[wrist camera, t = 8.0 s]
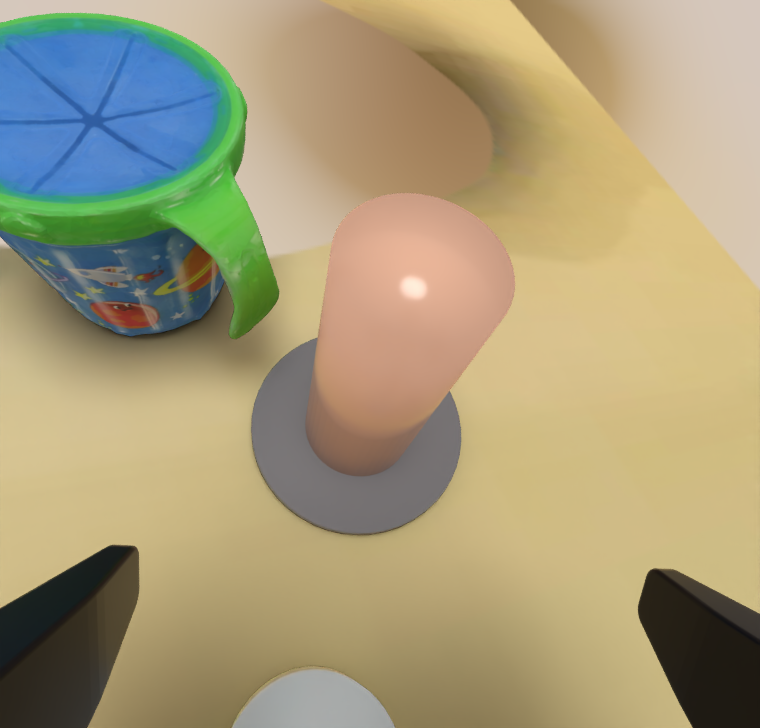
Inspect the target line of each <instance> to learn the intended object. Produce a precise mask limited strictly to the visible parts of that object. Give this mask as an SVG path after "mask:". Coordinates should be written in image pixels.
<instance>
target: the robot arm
mask: <svg viewBox="0 0 760 728" xmlns="http://www.w3.org/2000/svg"><path fill="white" fill-rule="evenodd" d="M138 595H139V552H138V549H137V548H136V547H135V546H128V545H110V546H108V547H106V548H104V549H102V550H101V551H99V552H97V553H95V554H94V555H92V556H90V557H88V558H87V559H85V560H83V561H81V562H80V563H78V564H76V565H75V566H73V567H71V568H69V569H68V570H66V571H64V572H62V573H61V574H59V575H57V576H55V577H54V578H52V579H50V580H48V581H47V582H45V583H43V584H42V585H40V586H38V587H36V588H35V589H33V590H31V591H29V592H28V593H26V594H24V595H22V596H21V597H19V598H17V599H15V600H14V601H12V602H10V603H9V604H7V605H5V606H3V607H2V608H0V728H87V727H88V725H89V723H90V721H91V719H92V717H93V715H94V713H95V710H96V708H97V706H98V704H99V702H100V699H101V697H102V694H103V692H104V689H105V687H106V684H107V682H108V679H109V676H110V674H111V671H112V668H113V666H114V663H115V660H116V657H117V655H118V652H119V649H120V647H121V644H122V641H123V639H124V636H125V633H126V631H127V628H128V625H129V623H130V620H131V617H132V615H133V612H134V609H135V607H136V604H137V600H138ZM638 615H639V619H640V621H641V624H642V626H643V628H644V630H645V632H646V634H647V636H648V639H649V641H650V643H651V645H652V647H653V649H654V651H655V653H656V655H657V658H658V660H659V662H660V664H661V666H662V668H663V670H664V672H665V674H666V677H667V679H668V681H669V683H670V685H671V687H672V689H673V691H674V693H675V695H676V697H677V699H678V701H679V703H680V705H681V707H682V709H683V711H684V713H685V715H686V716H687V718H688V720H689V722H690V724H691V725H692V727H693V728H760V614H759V613H757V612H755V611H753V610H751V609H749V608H748V607H746V606H744V605H742V604H740V603H738V602H736V601H734V600H732V599H730V598H728V597H726V596H724V595H723V594H721V593H719V592H717V591H715V590H713V589H711V588H709V587H707V586H705V585H703V584H701V583H699V582H698V581H696V580H694V579H692V578H690V577H688V576H686V575H684V574H682V573H680V572H678V571H676V570H673V569H657V568H654V569H652V570H650V571H649V572H648V573H647V576H646V579H645V583H644V586H643V590H642V593H641V597H640V600H639V604H638Z"/></svg>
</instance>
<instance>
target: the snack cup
mask: <svg viewBox="0 0 760 728" xmlns="http://www.w3.org/2000/svg"><path fill="white" fill-rule="evenodd" d="M246 119H247V104H246V101H245V99H244V97H243V94H242V92H241V91H240V89H239V88H238V87H237V86H236V84H235V83H234V81H233V79H232V78H231V76H230V74H229V73H228V71H227V70H226V69H225V68H224V67H223V66H222V65H221V64H220V62H219V61H218V60H217V59H216V58H215V57H213V56H212V55H211V54H210V53H209V52H207V51H206V50H204V49H203V48H202V47H200V46H199V45H197V44H195V43H194V42H192V41H190V40H188V39H187V38H185V37H183V36H181V35H179V34H176V33H174V32H172V31H169V30H167V29H164V28H162V27H159V26H156V25H153V24H149V23H146V22H142V21H138V20H134V19H129V18H123V17H119V16H111V15H104V14H91V13H90V14H89V13H88V14H87V13H55V14H45V15H36V16H29V17H23V18H18V19H14V20H10V21H7V22H1V23H0V237H1V238H2V239H3V240H4V241H5V242H6V243H7V244H8V245H9V246H10V247H11V248H12V249H13V250H14V251H15V252H16V253H17V254H18V255H20V256H21V257H22V258H23V259H24V260H25V261H26V262H27V263H28V264H29V265H30V266H31V267H32V268H33V269H34V270H35V271H36V272H37V273H38V274H39V275H40V276H41V277H42V278H43V279H44V280H45V281H46V282H47V283H48V284H49V285H50V286H51V287H53V288H54V289H55V290H57V291H58V292H59V293H60V294H61V296H62V297H63V299H65V300H66V301H67V302H68V303H69V304H70V305H71V306H72V307H73V308H75V309H76V310H77V311H78V312H80V313H81V314H82V315H83V316H85V317H86V318H87V319H89V320H90V321H92V322H95V323H96V324H97V325H100V326H102V327H105V328H108V329H110V330H112V331H114V332H115V333H117V334H123V335H127V336H135V335H142V334H152V333H161V332H164V331H168V330H172V329H175V328H178V327H180V326H183V325H185V324H188V323H190V322H191V321H194V320H199V319H201V318H202V316H203V315H204V314H205V313H206V312H207V311H208V310H209V309H210V307H211V304H212V303H213V302H214V300H215V299H216V297H217V296H218V294H219V292H220V290H221V288H222V286H223V283H224V280H225V283H226V285H227V287H228V290H229V293H230V295H231V297H232V301H233V304H234V312H233V316H232V319H231V323H230V328H229V336H230V337H231V338H232V339H237V338H239V337H241V336H243V335H244V334H246V333H247V332H249V331H250V330H251V329H252V328H253V327H254V326H255V325H256V324H257V323H259V322H260V321H261V320H262V319H263V318H264V317H265V316H266V315H267V314H268V313H269V312H270V310H271V309H272V308H273V306H274V305H275V304H276V302H277V300H278V297H279V289H278V286H277V282H276V278H275V276H274V273H273V270H272V267H271V264H270V261H269V259H268V256H267V253H266V249H265V246H264V244H263V241H262V237H261V234H260V232H259V229H258V226H257V223H256V221H255V219H254V217H253V214H252V212H251V210H250V208H249V206H248V203H247V201H246V199H245V198H244V196H243V194H242V192H241V190H240V188H239V186H238V185H237V183H236V181H235V178H234V177H235V175H236V173H237V171H238V169H239V166H240V164H241V161H242V157H243V153H244V144H245V122H246Z"/></svg>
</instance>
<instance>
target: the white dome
mask: <svg viewBox="0 0 760 728" xmlns="http://www.w3.org/2000/svg"><path fill="white" fill-rule="evenodd" d="M231 728H395V726H394V724H393V722H392V720H391V718H390V716H389V715H388V713H387V711H386V710H385V708H384V707H383V706H382V704H381V703H380V702H379V701H378V700H377V698H376V697H375V696H374V695H373V694H372V693H371V692H370V691H368V690H367V689H366V688H364V687H363V686H362V685H360V684H359V683H357V682H356V681H354V680H353V679H351V678H350V677H348V676H346V675H345V674H343V673H341V672H339V671H336V670H333V669H331V668H326V667H321V666H306V667H299V668H295V669H291V670H288V671H286V672H284V673H281V674H279V675H277V676H276V677H274V678H272V679H270V680H269V681H268V682H267V683H265V684H264V685H263V686H261V687H260V688H259V689H258V690H257V691H256V692H255V693H254V694H253V695H252V696H251V697H250V699H249V700H248V701H247V702H246V703H245V705H244V706H243V708H242V709H241V711H240V712H239V714H238V715H237V717H236V719H235V721H234V723H233V725H232V727H231Z"/></svg>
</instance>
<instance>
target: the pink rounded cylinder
mask: <svg viewBox="0 0 760 728" xmlns="http://www.w3.org/2000/svg"><path fill="white" fill-rule="evenodd" d="M514 290H515V276H514V271H513V266H512V263H511V260H510V257H509V255H508V253H507V251H506V249H505V247H504V246H503V244H502V243H501V241H500V240H499V238H498V237H497V236H496V235H495V234H494V232H493V231H492V230H491V229H490V228H489V227H488V226H487V225H486V224H485V223H483V222H482V221H481V220H480V219H479V218H477V217H476V216H475V215H473V214H472V213H470V212H469V211H467V210H465V209H463V208H461V207H460V206H458V205H455V204H453V203H451V202H449V201H446V200H443V199H440V198H437V197H432V196H428V195H422V194H414V193H398V194H389V195H384V196H380V197H377V198H374V199H371V200H369V201H366V202H364V203H362V204H361V205H359V206H357V207H356V208H354V209H353V210H352V211H351V212H350V213H349V214H348V215H347V216H346V217H345V218H344V219H343V220H342V222H341V223H340V225H339V226H338V228H337V230H336V233H335V235H334V237H333V242H332V246H331V253H330V259H329V266H328V273H327V279H326V286H325V293H324V299H323V306H322V313H321V319H320V326H319V333H318V339H317V346H316V352H315V359H314V366H313V372H312V379H311V386H310V392H309V399H308V406H307V412H306V420H305V428H306V434H307V439H308V441H309V444H310V446H311V448H312V450H313V451H314V453H315V454H316V455H317V457H318V458H319V459H320V460H321V461H322V462H323V463H325V464H326V465H327V466H328V467H330V468H332V469H333V470H335V471H338V472H340V473H343V474H346V475H351V476H370V475H374V474H378V473H380V472H383V471H384V470H386V469H388V468H390V467H391V466H392V465H393V464H395V463H396V462H397V461H398V460H399V458H400V457H401V456H402V454H403V453H404V452H405V450H406V449H407V448H408V446H409V445H410V444H411V442H412V441H413V439H414V438H415V437H416V435H417V434H418V433H419V431H420V430H421V429H422V427H423V426H424V425H425V423H426V422H427V421H428V419H429V418H430V416H431V415H432V414H433V412H434V411H435V410H436V408H437V407H438V406H439V404H440V403H441V402H442V400H443V399H444V398H445V396H446V395H447V393H448V392H449V391H450V389H451V388H452V387H453V385H454V384H455V383H456V381H457V380H458V379H459V377H460V376H461V375H462V373H463V372H464V370H465V369H466V368H467V366H468V365H469V364H470V362H471V361H472V360H473V358H474V357H475V356H476V354H477V353H478V352H479V350H480V349H481V347H482V346H483V345H484V343H485V342H486V341H487V339H488V338H489V337H490V335H491V334H492V333H493V331H494V330H495V329H496V327H497V326H498V324H499V323H500V322H501V320H502V319H503V318H504V316H505V315H506V314H507V312H508V310H509V308H510V306H511V303H512V300H513V297H514Z"/></svg>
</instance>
